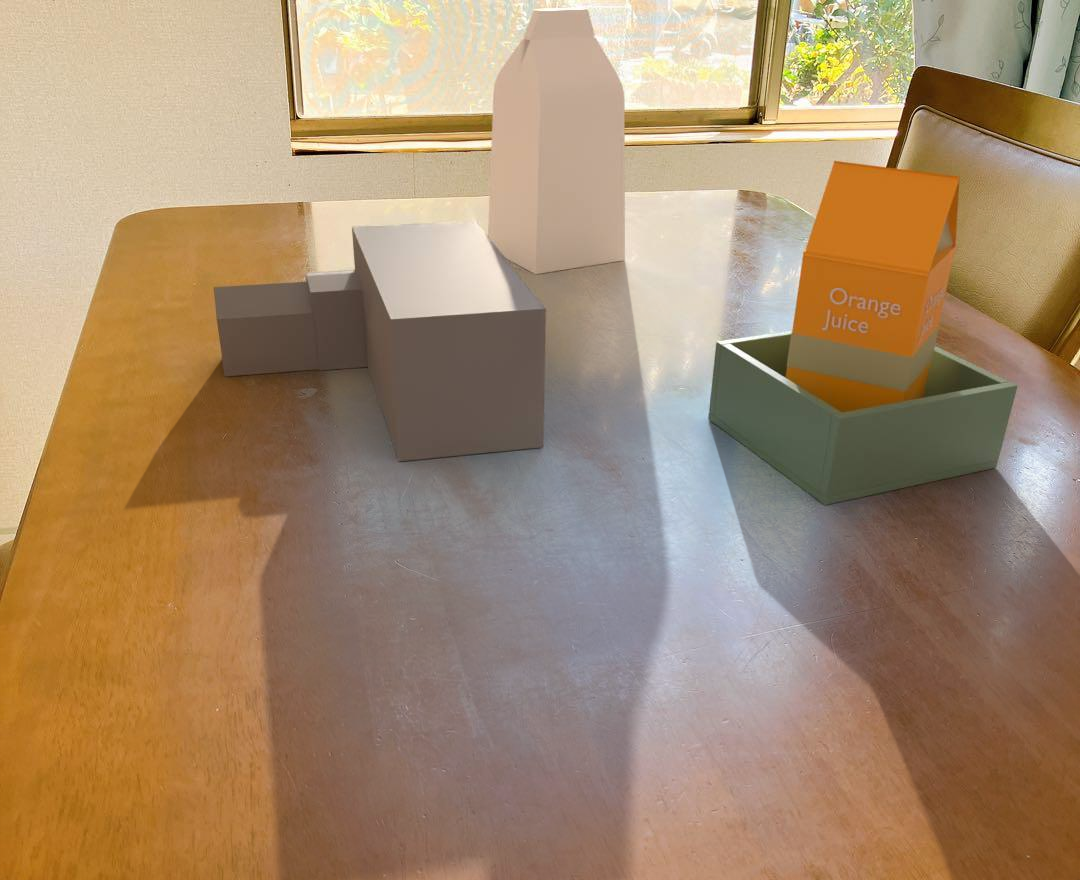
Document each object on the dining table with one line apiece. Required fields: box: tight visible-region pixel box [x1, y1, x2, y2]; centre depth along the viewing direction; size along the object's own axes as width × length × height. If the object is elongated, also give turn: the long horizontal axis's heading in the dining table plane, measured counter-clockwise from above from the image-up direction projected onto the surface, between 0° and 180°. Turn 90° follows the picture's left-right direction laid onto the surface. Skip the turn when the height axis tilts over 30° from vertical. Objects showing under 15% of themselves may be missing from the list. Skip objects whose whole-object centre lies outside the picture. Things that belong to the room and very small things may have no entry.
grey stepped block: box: [213, 219, 547, 462], centre depth 87 cm, size 25×23×11 cm
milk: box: [487, 7, 626, 275], centre depth 120 cm, size 12×12×26 cm
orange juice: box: [786, 160, 960, 413], centre depth 79 cm, size 8×9×20 cm
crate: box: [707, 330, 1018, 506], centre depth 82 cm, size 16×16×7 cm
